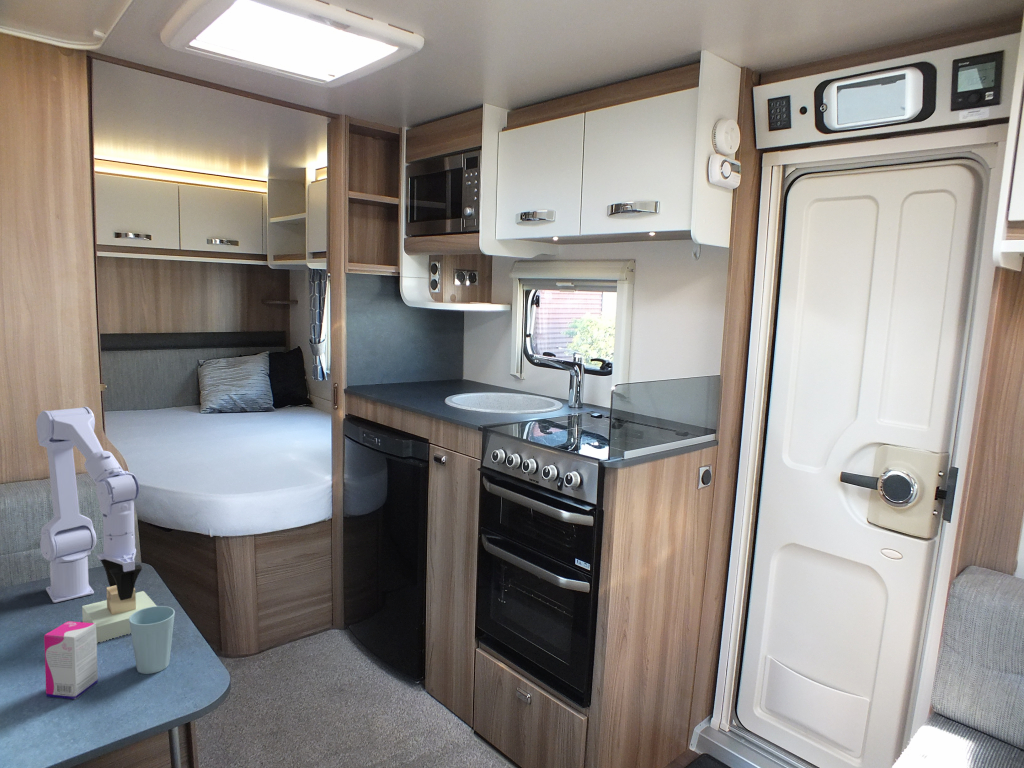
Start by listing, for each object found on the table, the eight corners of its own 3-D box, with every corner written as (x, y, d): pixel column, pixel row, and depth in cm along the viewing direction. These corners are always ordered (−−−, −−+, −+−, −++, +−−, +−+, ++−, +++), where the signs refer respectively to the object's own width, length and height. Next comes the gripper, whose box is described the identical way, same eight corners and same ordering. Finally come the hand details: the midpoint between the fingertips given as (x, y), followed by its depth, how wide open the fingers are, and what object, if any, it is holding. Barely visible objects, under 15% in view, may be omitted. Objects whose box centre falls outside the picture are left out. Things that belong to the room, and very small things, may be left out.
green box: (82, 623, 143) (82, 605, 143) (143, 607, 151) (143, 590, 151) (96, 645, 135) (96, 627, 134) (160, 627, 143) (160, 610, 142)
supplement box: (99, 681, 122) (97, 622, 120) (75, 700, 116) (72, 638, 114) (70, 678, 122) (67, 619, 121) (44, 697, 116) (41, 635, 115)
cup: (158, 679, 123) (157, 626, 122) (120, 675, 124) (119, 622, 123) (183, 658, 131) (183, 607, 129) (147, 654, 132) (146, 604, 130)
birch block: (107, 607, 143) (106, 587, 142) (130, 601, 146) (130, 582, 145) (112, 615, 139) (111, 594, 139) (135, 609, 142) (135, 589, 142)
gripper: (88, 526, 143) (90, 586, 144) (106, 545, 133) (108, 610, 134) (125, 519, 148) (127, 577, 149) (145, 538, 137) (146, 600, 139)
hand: (120, 592), depth 142 cm, fingers open, 7 cm apart
